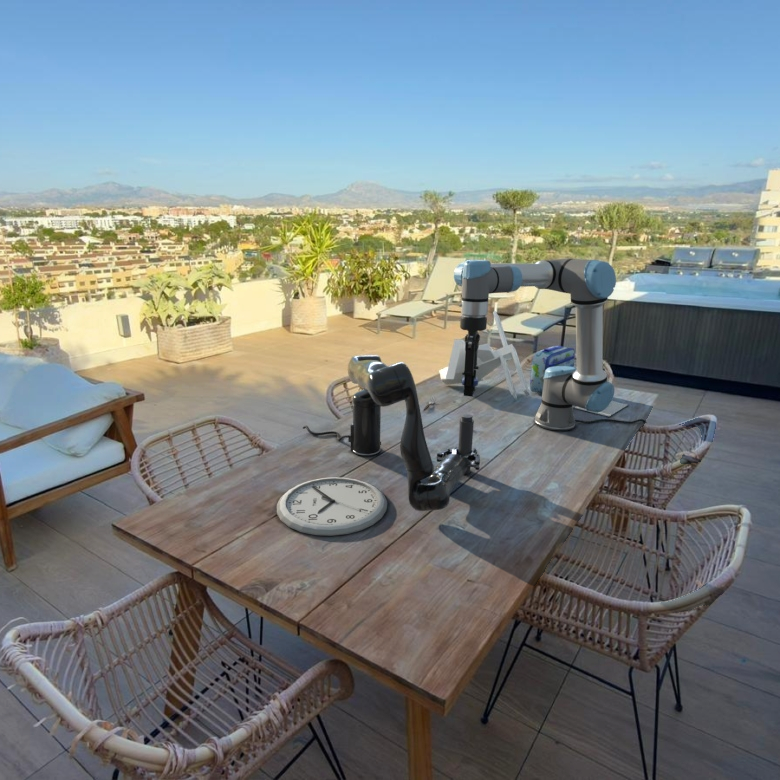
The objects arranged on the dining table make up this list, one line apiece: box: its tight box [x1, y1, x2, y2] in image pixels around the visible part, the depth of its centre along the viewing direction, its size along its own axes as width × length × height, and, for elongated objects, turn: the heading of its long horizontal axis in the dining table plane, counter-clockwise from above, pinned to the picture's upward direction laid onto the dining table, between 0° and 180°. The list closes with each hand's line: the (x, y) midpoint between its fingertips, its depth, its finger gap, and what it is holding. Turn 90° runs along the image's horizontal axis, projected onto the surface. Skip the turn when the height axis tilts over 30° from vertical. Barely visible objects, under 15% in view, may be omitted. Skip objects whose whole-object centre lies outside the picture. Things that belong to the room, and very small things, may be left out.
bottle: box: [457, 413, 475, 475], centre depth 161 cm, size 4×4×19 cm
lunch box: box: [529, 345, 576, 394], centre depth 244 cm, size 26×11×21 cm, turn 135°
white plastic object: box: [438, 310, 531, 400], centre depth 245 cm, size 37×45×31 cm
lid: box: [461, 377, 479, 387], centre depth 155 cm, size 5×5×2 cm
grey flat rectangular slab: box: [573, 400, 629, 418], centre depth 226 cm, size 21×1×15 cm
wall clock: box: [276, 476, 388, 537], centre depth 142 cm, size 30×2×30 cm
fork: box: [422, 395, 437, 412], centre depth 223 cm, size 3×16×2 cm, turn 160°
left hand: (467, 449), depth 165 cm, fingers closed on bottle, 4 cm apart
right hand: (469, 392), depth 156 cm, fingers closed on lid, 5 cm apart
